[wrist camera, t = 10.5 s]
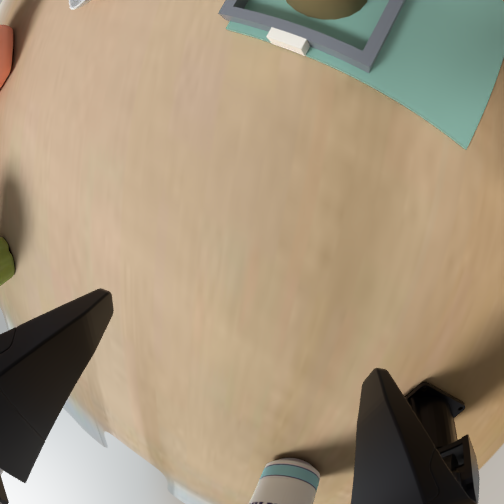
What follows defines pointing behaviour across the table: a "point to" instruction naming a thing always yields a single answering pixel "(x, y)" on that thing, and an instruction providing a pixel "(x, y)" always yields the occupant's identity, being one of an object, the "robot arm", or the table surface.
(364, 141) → the table surface
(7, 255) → the plant pot
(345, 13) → the cork
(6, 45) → the teapot
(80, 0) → the salad plate
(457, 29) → the board
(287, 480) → the beverage can
